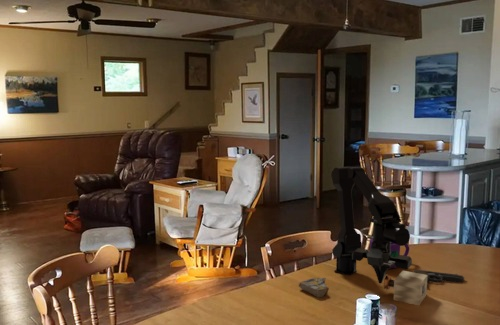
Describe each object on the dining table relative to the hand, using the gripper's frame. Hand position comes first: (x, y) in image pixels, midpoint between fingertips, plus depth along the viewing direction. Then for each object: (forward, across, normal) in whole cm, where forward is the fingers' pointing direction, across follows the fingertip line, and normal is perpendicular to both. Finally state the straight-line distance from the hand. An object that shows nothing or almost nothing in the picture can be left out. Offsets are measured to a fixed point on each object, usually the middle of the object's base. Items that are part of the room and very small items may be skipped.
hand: (380, 282), depth 162 cm
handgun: (+4, +15, +19) cm, 24 cm away
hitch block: (+3, +10, 0) cm, 10 cm away
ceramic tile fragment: (+3, -19, -12) cm, 23 cm away
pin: (+2, +8, 0) cm, 8 cm away
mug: (+3, -5, +29) cm, 30 cm away
